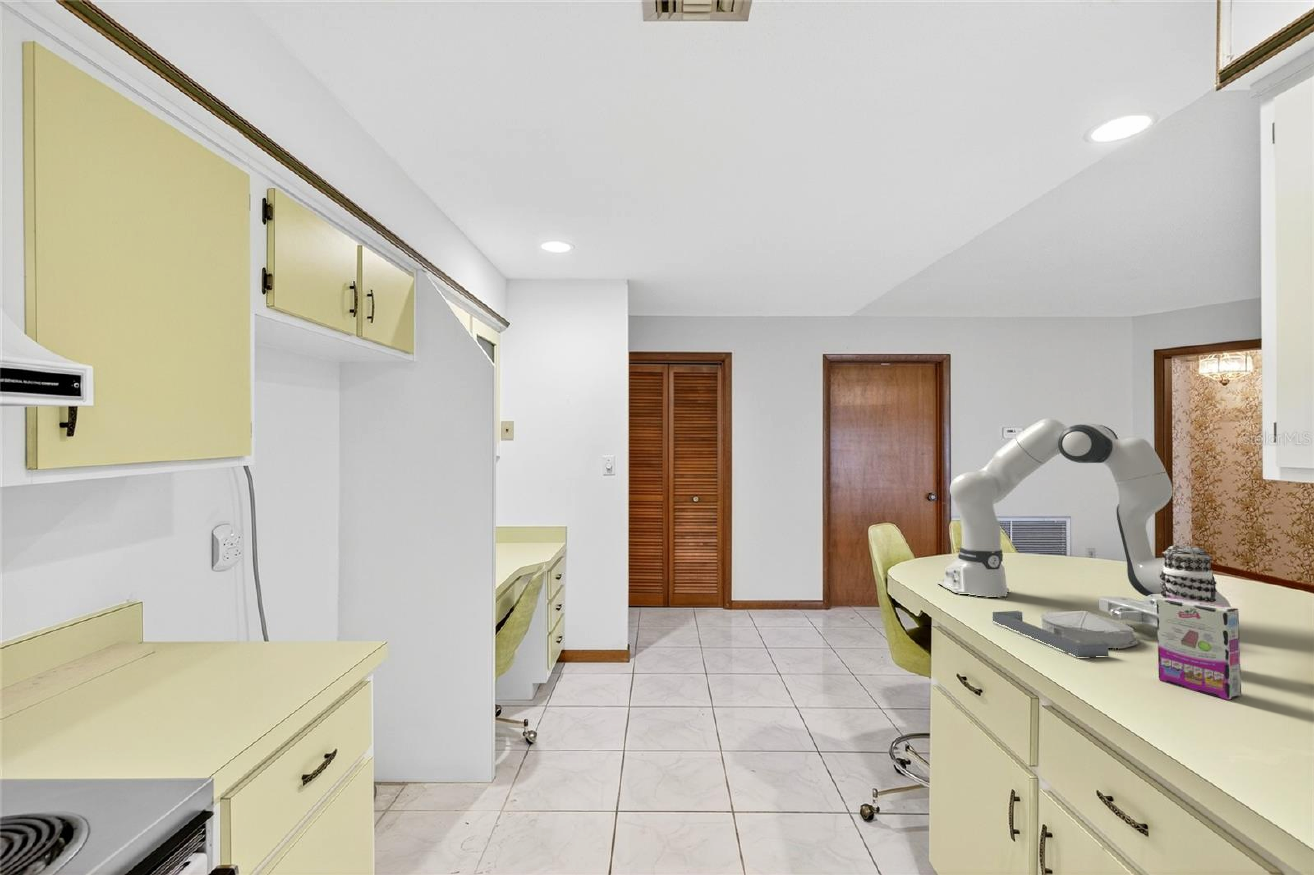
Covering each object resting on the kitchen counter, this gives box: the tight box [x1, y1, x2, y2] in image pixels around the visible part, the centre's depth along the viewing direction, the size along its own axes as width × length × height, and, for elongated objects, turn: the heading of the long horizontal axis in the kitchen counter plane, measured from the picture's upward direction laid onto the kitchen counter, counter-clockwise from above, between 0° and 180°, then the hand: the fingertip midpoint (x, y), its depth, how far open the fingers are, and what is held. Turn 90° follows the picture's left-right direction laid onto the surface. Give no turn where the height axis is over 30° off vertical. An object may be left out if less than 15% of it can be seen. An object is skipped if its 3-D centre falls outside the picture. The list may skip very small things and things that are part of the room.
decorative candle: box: [1159, 545, 1218, 604], centre depth 127 cm, size 9×9×25 cm
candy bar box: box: [1156, 597, 1242, 701], centre depth 115 cm, size 11×5×16 cm, turn 25°
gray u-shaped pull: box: [992, 610, 1110, 657], centre depth 145 cm, size 27×8×3 cm, turn 8°
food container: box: [1040, 610, 1139, 649], centre depth 146 cm, size 20×20×7 cm
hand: (1115, 614), depth 147 cm, fingers closed
